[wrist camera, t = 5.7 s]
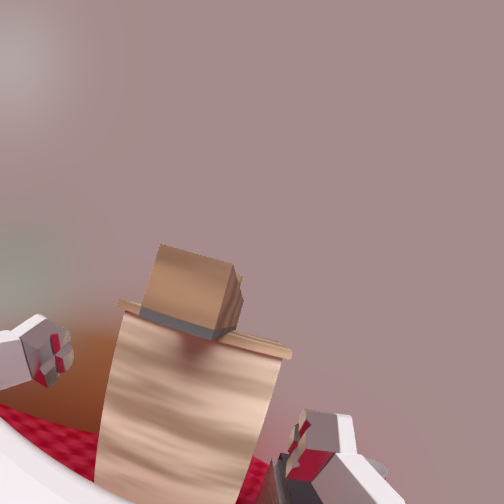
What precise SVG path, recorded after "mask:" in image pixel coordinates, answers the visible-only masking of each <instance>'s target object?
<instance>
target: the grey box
mask: <svg viewBox="0 0 504 504" xmlns="http://www.w3.org/2000/svg"><path fill="white" fill-rule="evenodd" d="M290 456H291V455H290V454H285V453H280V456H279V459H273V458H272V459H271V462H270V465H269V467H268V470H267V473H266V475H265V478H264V481H263V483H262V486H261V488H260V491H259V493H258V496H257V498H256V501H255V503H254V504H323V502H322V501H321V499H320V497H319V496H318V494H317V492H316V490H315V489H314V487H313V485H312V484H311V482H309V481H302V480H295V479H288V478H285V477H286V465H287V461H288V459H289V457H290Z"/></svg>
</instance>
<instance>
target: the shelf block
mask: <svg viewBox="0 0 504 504" xmlns="http://www.w3.org/2000/svg"><path fill="white" fill-rule="evenodd" d="M141 305H142V304H139V303H134V302H129V301H124V300H119V303H118V306H117V307H119V308H121V309H124V310H125V313H124V318H123V321H122V325H121V328H120V332H119V337H118V340H117V344H116V349H115V353H114V357H113V362H112V366H111V371H110V375H109V380H108V385H107V391H106V396H105V401H104V408H103V413H102V419H101V426H100V432H99V440H98V447H97V456H96V465H95V476H94V483H95V484H97V485H98V486H100V487H102V488H104V489H106V490H108V491H110V492H112V493H114V494H116V495H118V496H121V497H123V498H125V499H127V500H129V501H132V502H134V503H136V504H235V503H236V500H237V497H238V495H239V492H240V489H241V487H242V484H243V481H244V478H245V475H246V473H247V470H248V467H249V464H250V461H251V458H252V455H253V452H254V449H255V447H256V444H257V440H258V437H259V434H260V431H261V428H262V425H263V422H264V419H265V416H266V413H267V409H268V406H269V403H270V400H271V396H272V393H273V390H274V386H275V382H276V379H277V376H278V372H279V369H280V365H281V362H282V358H285V359H289V360H290V359H291V356H292V352H293V351H291V350H289V349H288V348H286V347H285V346H284V345H282V344H281V343H279V342H277V341H273V340H269V339H265V338H261V337H257V336H253V335H249V334H246V333H242V332H238V331H235V330H234V331H231V332H229V333H227V334H225V335H223V336H221V337H219V338H216V339H214V340H212V341H210V340H207V339H204V338H200V337H197V336H194V335H191V334H188V333H184V332H181V331H178V330H175V329H172V328H169V327H166V326H163V325H160V324H158V323H155V322H152V321H149V320H146V319H143V318H141V317H138V316H139V312H140V309H141Z"/></svg>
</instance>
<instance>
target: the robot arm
mask: <svg viewBox="0 0 504 504" xmlns="http://www.w3.org/2000/svg"><path fill="white" fill-rule="evenodd" d="M70 340H71V335H70V332H69V331H68V330H67V329H65V328H63V327H62V326H60V325H58V324H56V323H55V322H53V321H51V320H50V319H47V318H46V317H44V316H42V315H41V314H36V315H34V316H33V317H31V318H30V319H28V320H27V321H25V322H24V323H22V324H21V325H19V326H18V327H16V328H15V329H13V330H12V331H8V330H6V331H0V390H2V389H6V388H8V387H11V386H15V385H17V384H21V383H24V382H27V381H30V380H32V379H34V380H35V381H37V382H38V383H40V384H42V385H43V386H45V387H46V388H49V387H50V386H51V385H52V384H54V383H55V381H57V379H59V373H62V372H66V371H67V370H68V369H69V368H70V366H71V364H72V362H73V355H74V354H73V349H72V347H71V345H70V344H69V342H70ZM288 452H289V453H290V455H291V456H290V457H289V459H288V461H287V465H286V477H285V478H288V479H295V480H302V481H309V482H311V484H312V485H313V487H314V489H315V490H316V492H317V494H318V496H319V497H320V499H321V501H322V502H323V504H405V501H404V500H403V499H402V498H401V497H400V496H399V494H397V492H396V491H395V490H394V489H393V488H392V487H391V486H390V485H389V484H388V483H387V482H386V481H385V480H384V479H383V478H382V477H381V475H380V474H379V473H378V472H377V471H376V470H375V469H374V468H373V467H372V466H371V465H370V464H369V462H368V461H367V460H366V459H365V458H364V457H363V456H362V455H358V454H357V449H356V442H355V435H354V428H353V422H352V417H351V416H350V415H343V414H334V413H327V412H320V411H314V410H307V409H304V410H303V411H302V413H301V415H300V416H299V423H298V424H296V425H295V426H294V428H293V430H292V433H291V436H290V439H289V444H288ZM0 504H136V503H134V502H132V501H129V500H127V499H125V498H123V497H121V496H118V495H116V494H114V493H112V492H110V491H108V490H106V489H104V488H102V487H100V486H98V485H97V484H95V483H93V482H91V481H89V480H87V479H86V478H84V477H82V476H80V475H79V474H77V473H75V472H74V471H72V470H70V469H69V468H67V467H66V466H64V465H62V464H61V463H59V462H58V461H56V460H55V459H53V458H52V457H50V456H49V455H48V454H46V453H45V452H43V451H42V450H41V449H39V448H38V447H36V446H35V445H34V444H32V443H31V442H30V441H28V440H27V439H26V438H25V437H23V436H22V435H21V434H20V433H18V432H17V431H16V430H15V429H14V428H12V427H11V426H10V425H9V424H8V423H7V422H5V421H4V420H3V419H2V418H1V417H0Z"/></svg>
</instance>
